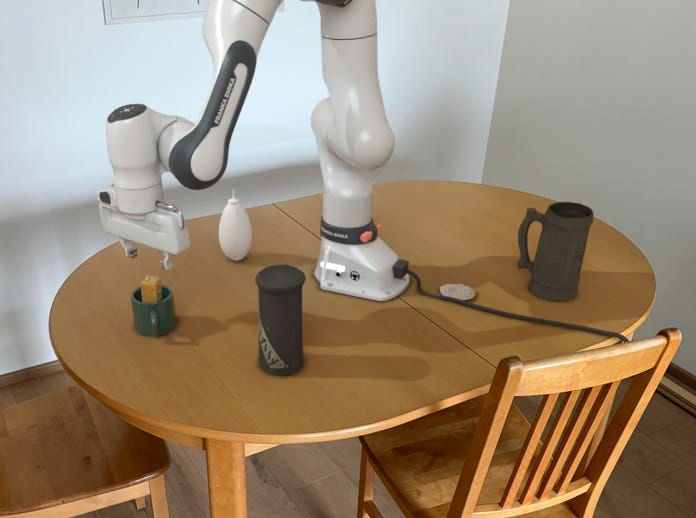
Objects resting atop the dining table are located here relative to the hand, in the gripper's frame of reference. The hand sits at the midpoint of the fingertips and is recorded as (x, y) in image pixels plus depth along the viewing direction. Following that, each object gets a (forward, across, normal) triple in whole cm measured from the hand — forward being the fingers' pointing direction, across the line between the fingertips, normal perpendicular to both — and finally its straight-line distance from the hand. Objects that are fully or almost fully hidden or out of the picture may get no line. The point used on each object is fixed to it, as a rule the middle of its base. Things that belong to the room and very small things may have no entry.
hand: (149, 262), depth 141 cm
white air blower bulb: (+15, +5, -34) cm, 37 cm away
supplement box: (+14, 0, 0) cm, 14 cm away
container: (+15, -30, -2) cm, 33 cm away
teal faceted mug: (+14, -1, +2) cm, 15 cm away
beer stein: (+16, -62, -61) cm, 89 cm away
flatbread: (+16, -47, -47) cm, 68 cm away
